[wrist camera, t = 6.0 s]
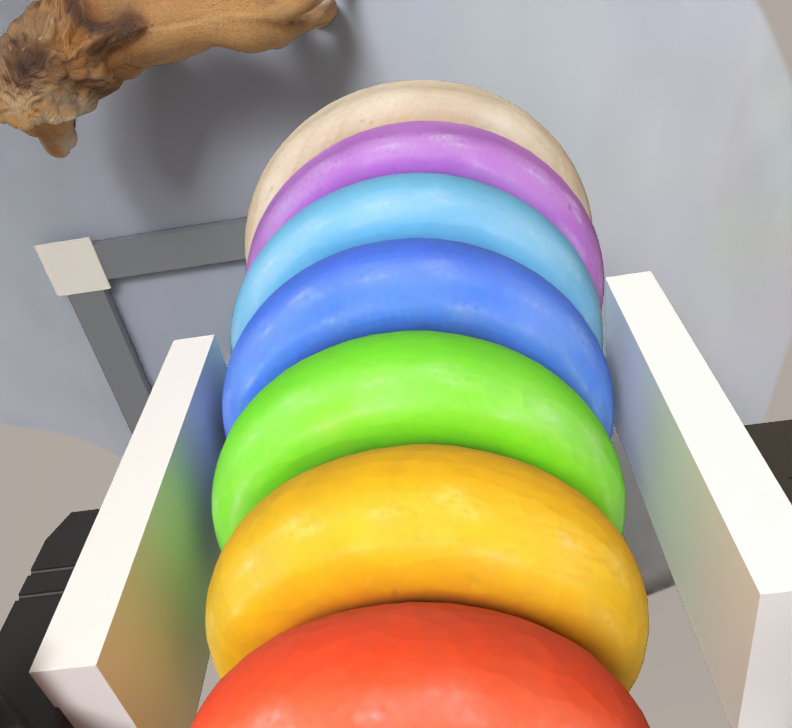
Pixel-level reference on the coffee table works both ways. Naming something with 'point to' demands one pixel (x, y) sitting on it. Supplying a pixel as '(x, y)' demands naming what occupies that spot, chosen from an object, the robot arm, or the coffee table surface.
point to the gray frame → (121, 257)
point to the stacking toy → (421, 434)
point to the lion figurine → (124, 50)
